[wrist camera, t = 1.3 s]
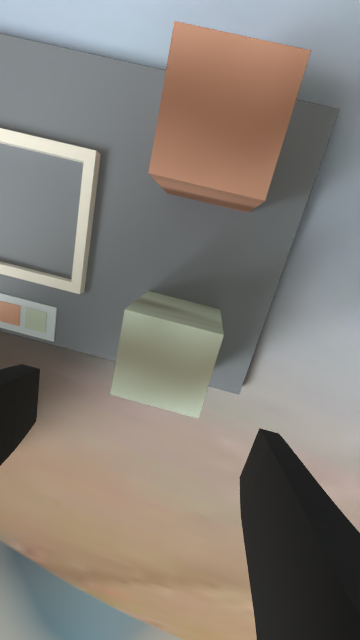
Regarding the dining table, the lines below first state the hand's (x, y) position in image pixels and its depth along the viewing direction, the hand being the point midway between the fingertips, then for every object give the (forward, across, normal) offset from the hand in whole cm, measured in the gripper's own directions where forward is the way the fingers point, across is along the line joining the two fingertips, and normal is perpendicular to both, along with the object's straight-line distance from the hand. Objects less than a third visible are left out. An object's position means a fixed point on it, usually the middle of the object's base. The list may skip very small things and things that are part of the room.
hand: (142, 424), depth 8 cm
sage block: (+8, 0, 0) cm, 8 cm away
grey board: (+9, +5, -5) cm, 12 cm away
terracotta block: (+8, 0, -10) cm, 13 cm away
